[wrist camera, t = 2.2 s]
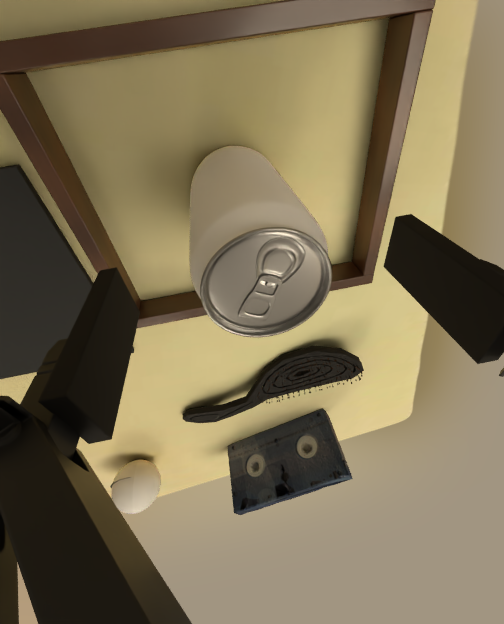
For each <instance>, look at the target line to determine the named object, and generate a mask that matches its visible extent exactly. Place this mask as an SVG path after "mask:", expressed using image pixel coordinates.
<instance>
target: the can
mask: <svg viewBox="0 0 504 624" xmlns="http://www.w3.org/2000/svg"><path fill="white" fill-rule="evenodd" d="M190 273H191V278H192V283H193V286H194V288H195V291H196V293H197V294H198V296H199V297H200V299H201V302H202V305H203V307H204V309H205V311H206V313H207V315H208V316H209V317H210V319H211V320H212V321H213V322H214V323H216V324H217V325H218V326H219V327H221V328H222V329H224V330H226V331H228V332H230V333H233V334H236V335H240V336H246V337H267V336H273V335H277V334H281V333H284V332H286V331H289V330H291V329H293V328H295V327H297V326H299V325H300V324H302V323H303V322H305V321H306V320H307V319H309V318H310V317H311V316H312V315H313V314H314V313H315V312H316V311H317V310H318V309H319V308H320V306H321V305H322V304H323V302H324V300H325V299H326V297H327V295H328V292H329V290H330V287H331V282H332V266H331V262H330V259H329V257H328V247H327V242H326V239H325V236H324V234H323V231H322V230H321V228H320V226H319V224H318V223H317V221H316V220H315V218H314V217H313V216H312V214H311V213H310V212H309V211H308V209H307V208H306V207H305V205H304V204H303V203H302V202H301V200H300V199H299V198H298V197H297V195H296V194H295V193H294V192H293V190H292V189H291V188H290V187H289V185H288V184H287V183H286V182H285V180H284V179H283V178H282V177H281V175H280V174H279V173H278V172H277V171H276V169H275V168H274V167H273V166H272V164H271V163H270V162H269V161H268V160H267V159H266V158H265V157H264V156H263V155H262V154H261V153H259V152H257V151H255V150H253V149H251V148H247V147H242V146H226V147H223V148H220V149H217V150H215V151H214V152H212V153H210V154H209V155H208V156H207V157H206V158H204V160H203V161H202V162H201V163H200V164H199V166H198V167H197V169H196V171H195V173H194V176H193V179H192V183H191V192H190Z"/></svg>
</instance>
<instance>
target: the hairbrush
mask: <svg viewBox="0 0 504 624" xmlns="http://www.w3.org/2000/svg"><path fill="white" fill-rule="evenodd" d="M362 371H364V370H363V367H362V363H361V362H360V360H359V357H357V356H355V355H353V354H351V353H349V352H347V351H345V350H343V349H341V348H332V347H321V346H310V347H307V348H303V349H300V350H296V351H293V352H289V353H286V354H282V355H281V356H280V357H278V358H277V359H276V360H274V361H273V362H272V363H271V364H269V365H268V366H267V367H265V369H264V370H263V372H262V373H261V375H260V376H259V378H258V379H257V381H256V382H255V384H254V385H253V387H252V388H251V389H250V391H249V392H248V394H247V395H246V397H243V398H240V399H237V400H234V401H231V402H228V403H226V404H222V405H215V406H207V407H199V408H194V409H189V410H186V411H185V412H184V413H183V420H185V421H186V422H194V423H209V422H217V421H220V420H222V419H225V418H228V417H231V416H234V415H236V414H238V413H241V412H243V411H246V410H248V409H251V408H253V407H255V406H257V405H258V404H260V403H263V402H264V401H265V400H267V399H270V398H274V397H276V398H278V396H281V395H285V394H287V395H288V393H292V392H293V394H294V392H296V391H300V390H304V394H305V389H308V388H309V389H311V388H312V387H316V386H322V385H325V384H329V383H333V382H338V381H342V380H347V381H348V379H352V378H354V377H355V376H357V375H358V374H359V373H361V374H362ZM358 376H359V375H358ZM361 376H362V375H361ZM359 378H360V377H359ZM359 380H361V379H359ZM350 381H351V380H350ZM356 381H357V380H356ZM342 382H343V381H342ZM339 384H340V383H339ZM351 384H352V382H351ZM337 385H338V383H337ZM343 385H344V383H343ZM332 387H333V385H332ZM327 388H328V387H327ZM319 390H320V389H319ZM321 390H322V389H321ZM309 393H311V392H309ZM299 396H300V394H299ZM293 397H294V396H293ZM282 398H283V396H282ZM288 398H289V397H288ZM282 400H283V399H282ZM277 402H278V400H277ZM279 402H280V400H279ZM266 403H267V402H266ZM269 404H270V402H269Z"/></svg>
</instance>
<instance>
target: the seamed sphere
mask: <svg viewBox="0 0 504 624" xmlns="http://www.w3.org/2000/svg"><path fill="white" fill-rule="evenodd" d="M160 485H161V477H160V473H159V471H158V469H157V467H156V466H155V465H154V464H153V463H152V462H150V461H147V460H135V461H132V462H130V463H128V464H126V465H125V466H124V467H123V468H121V470H120V471H119V472H118V474H117V475H116V476H115V478H114V481H113V484H112V485H111V488H112V500H113V502H114V504H115V505H116V507H117V508H118V509H119V510H120V511H122V512H124V513H127V514H135V513H139V512H141V511H143V510H145V509H146V508H148V507H149V506H150V505H151V504H152V503H153V502H154V500H155V499H156V497H157V495H158V493H159V489H160Z"/></svg>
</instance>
